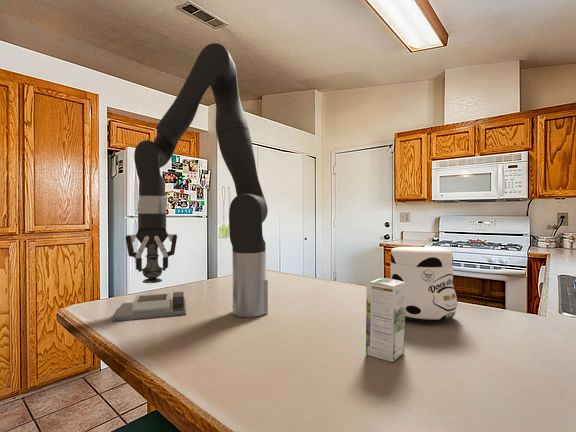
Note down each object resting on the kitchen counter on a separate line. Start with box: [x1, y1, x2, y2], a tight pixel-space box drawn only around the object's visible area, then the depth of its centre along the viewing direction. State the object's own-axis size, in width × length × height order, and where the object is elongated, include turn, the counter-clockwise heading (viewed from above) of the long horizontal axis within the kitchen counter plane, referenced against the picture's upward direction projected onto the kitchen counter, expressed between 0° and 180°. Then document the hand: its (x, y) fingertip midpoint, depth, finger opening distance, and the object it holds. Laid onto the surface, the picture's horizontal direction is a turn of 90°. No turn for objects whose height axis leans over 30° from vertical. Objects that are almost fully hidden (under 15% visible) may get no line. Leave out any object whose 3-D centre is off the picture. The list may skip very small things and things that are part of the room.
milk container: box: [389, 246, 458, 323], centre depth 91 cm, size 17×17×18 cm
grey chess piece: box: [141, 245, 163, 284], centre depth 97 cm, size 6×6×12 cm
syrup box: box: [365, 277, 406, 363], centre depth 66 cm, size 6×6×14 cm
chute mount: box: [112, 291, 187, 322], centre depth 97 cm, size 18×14×4 cm
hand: (152, 270), depth 97 cm, fingers closed on grey chess piece, 6 cm apart
